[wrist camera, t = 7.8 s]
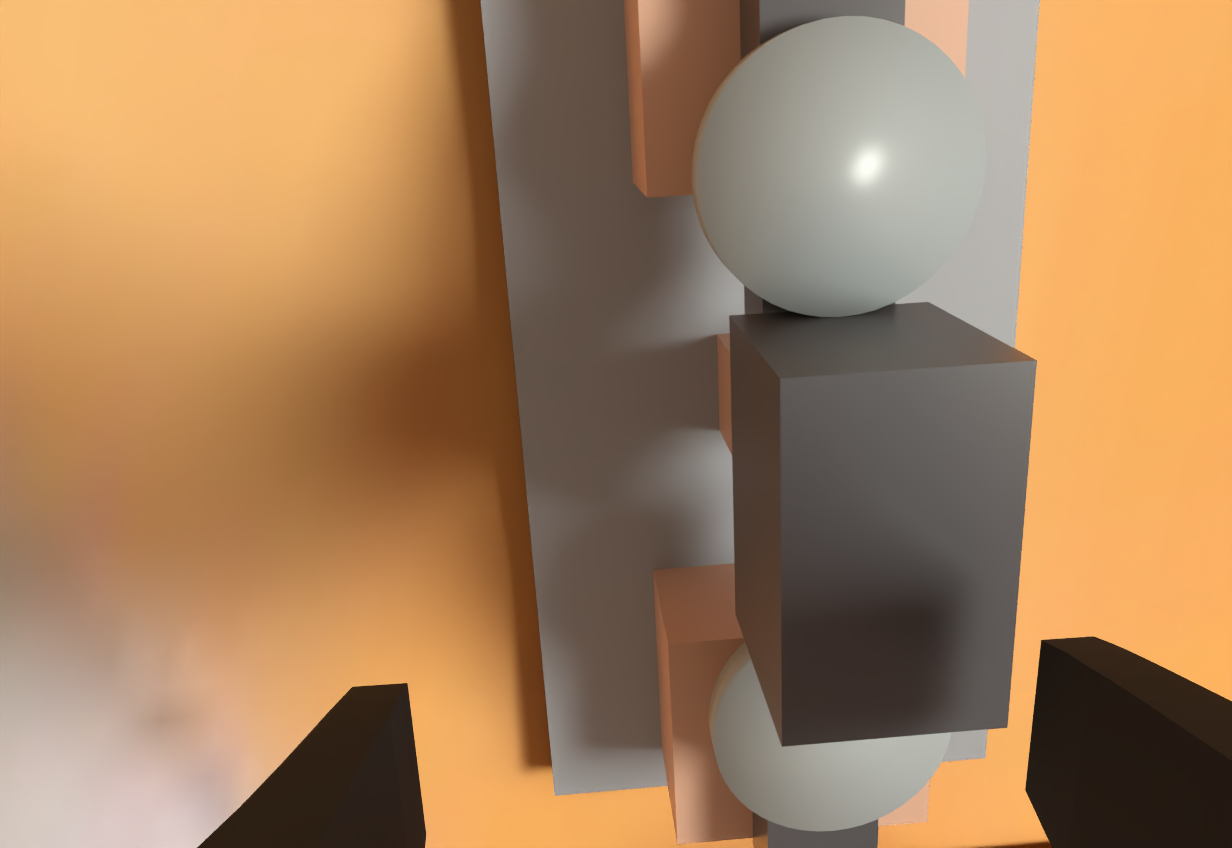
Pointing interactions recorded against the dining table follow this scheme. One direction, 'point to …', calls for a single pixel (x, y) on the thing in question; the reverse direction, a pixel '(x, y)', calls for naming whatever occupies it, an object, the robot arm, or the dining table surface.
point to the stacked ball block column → (856, 422)
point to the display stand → (670, 360)
